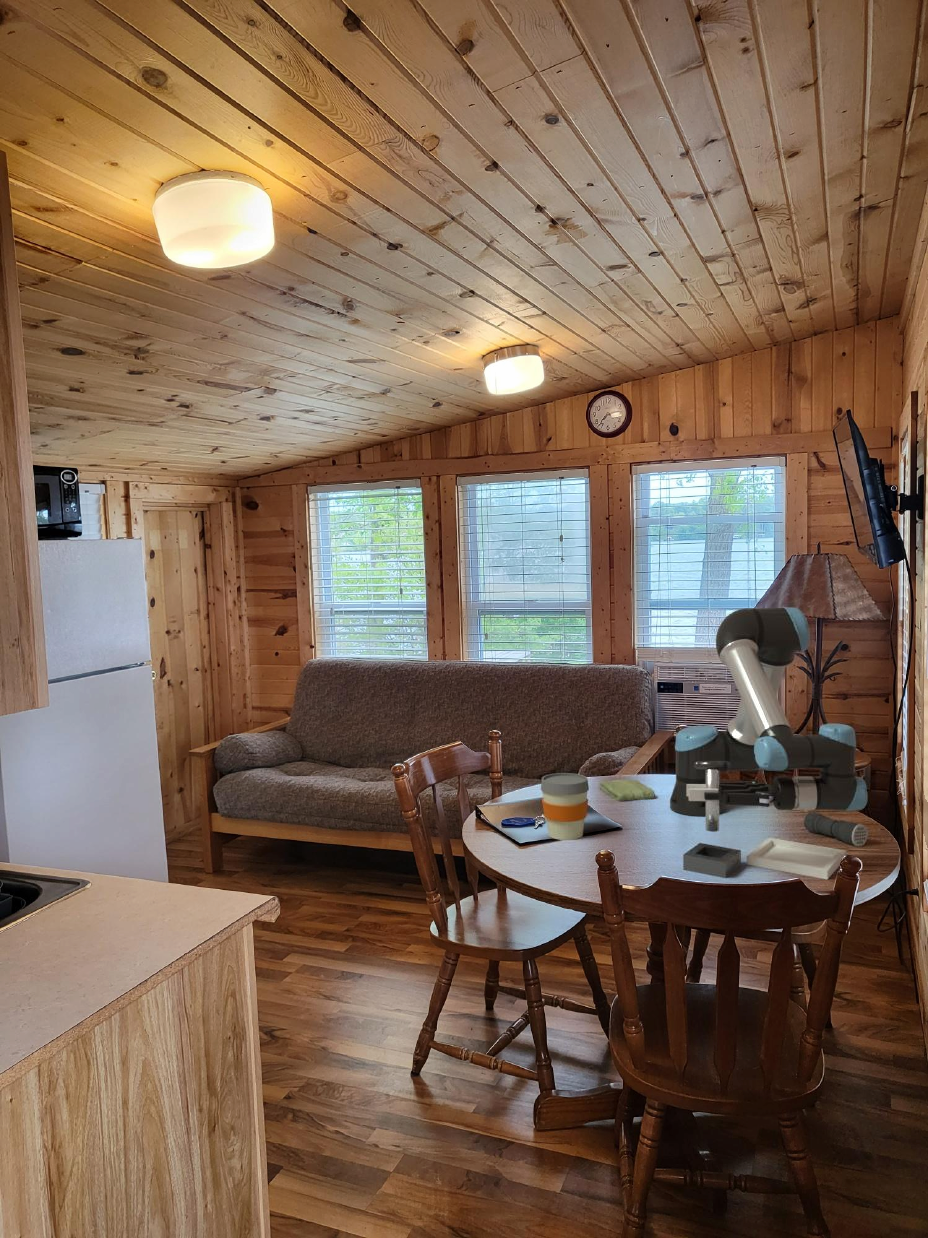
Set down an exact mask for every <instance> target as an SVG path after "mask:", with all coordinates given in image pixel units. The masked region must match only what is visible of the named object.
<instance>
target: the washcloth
mask: <svg viewBox="0 0 928 1238" xmlns="http://www.w3.org/2000/svg"><path fill="white" fill-rule="evenodd" d="M599 785H600V786H599V790H601V791H602V792H604V793H605V794H606V795H608V796H610V797H611V798H613V799H614V800H616V801H617V802H625V801H634V800H637V801H638V800H653V799H654V798H655V797H656V794H655V791H654V790H653V789H652V787H648V786H647V785H646V784H643V783H641V782H640V781H639V780H635V779H634V780H633V779H631V780H630V779H626V780H625V779H623V780H621V779H620V780H619V779H618V780H617V779H615V780H612V781H606V780H602V781H601V782H600V783H599Z"/></svg>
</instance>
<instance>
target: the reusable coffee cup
mask: <svg viewBox="0 0 928 1238" xmlns="http://www.w3.org/2000/svg"><path fill="white" fill-rule="evenodd" d="M540 781H541V783H540V784H541V785H540V791H541V792H542V799H541V801H542V803H541V804H542V809H543V810H542V811H543V815H544V816H543V817H544V818H545V820H546V825H547V834H548V836H549V837H550V838H552V839H554V840H555V839H556V840H561V841H573V840H577V839H580V838H582V837H583V836H584V829H585V828H584V826H585V819H586V818H587V815H588V813H587V812H588V807H589V805H588V803H589V799H588V791H589V780H588V776H586V775H583V774H579V773H574V772H573V773H571V772H570V773H569V772H559V773H557V772H555V773H550V774H546V775H544V776H542V777H541V780H540Z"/></svg>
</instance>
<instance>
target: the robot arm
mask: <svg viewBox="0 0 928 1238" xmlns="http://www.w3.org/2000/svg"><path fill="white" fill-rule="evenodd" d="M808 622H809V621H808V620H807V618H806V615H805V614H804V612H803V611H801V610H800V609H799V608H797V607H790V606H789V607H787V606H786V607H785V606H781V607H768V608H765V607H763V608H761V607H759V608H741V609H737V610H734V611H733V612H731V613H730V614H728V615H727V616H726V617H724V619H723V620H722V621H721V623H720V625H719V627H718V628H717V632H716V636H715V646H716V647H715V649H716V653H717V656H718V658H719V660H720V662H721V663H722V664H723V665H724V666H726V667H728V670H729V673H730V675H731V677H732V680H733V682H734V684H735V687H736V688H737V689H736V690H737V691H738V694H739V696H740V701H739V703H738V704H739V705H738V708H737V711H736V712H737V713H736V715H735V717H733V718H732V719H730V720H729V722H728V724H727V725H726V726H727V727H726V729H725V730H718V728H717V727H716V726H714V725H707V724H706V725H693V726H692V725H691V726H689V727H688V726H687V727H685V728H682V729H680V730H679V731H677V733H676V736H675V745H674V749H675V784H674V786H673V790H672V793H671V795H670V799H669V808H670V810H671V811H673V812H675V813H677V814H682V815H687V816H694V817H695V816H696V817H706V801H718V800H719V815H720V814H723V812H725V808H726V807H725V806H726V805H729V806H730V805H731V806H732V805H733V806H755V807H756V806H757V807H765V808H768V807H770V804H771V803H773V805H774V807H775V809H776V810H778V811H793V810H796V811H804V813H808V812H809V811H835V812H836V811H838V812H839V811H842V812H848V811H861V810H863V809H864V808H865V807H866V805H867V803H868V791H867V790H868V788H867V784H866V781H865V779H863V778H862V777H860V776H857V774H856V756H857V755H856V752H857V750H856V749H857V738H856V737H857V736H856V731H855V729H854V727H852V726H850V725H847V724H843V723H826V724H825V723H824V724H821V725H820V727H819V731H818V734H803V735H796V734H795V732H794V731H793V729H792V727H791V725H790V723H789V720H788V718H787V717H786V714H785V712H784V710H783V708H782V705H781V703H780V702H779V700H778V697H777V694H778V691H779V689H780V684H781V681H782V679H783V675H784V672H785V669H786V667H787V666H790V665H791V664H792V663H793V662H794V660H795V657H796V653H802V652H804V651H807V650H808V648H809V647H810V641H811V632H810V627H809V623H808ZM696 761H728V762H729V763H730V764H731V767H730V768H729V769H719V773H724V772H745V771H746V772H752V771H753V772H754V771H757V770H764V771H777V772H783V771H788V770H789V771H790V770H791V771H792V770H806V769H810V770H811V769H813V770H814V769H819V770H818V771H819V773H818V774H819V776H796V775H795V776H794V777H791V776H775V777H774V778H773V780H772V783H771V784H768V783H767V784H766V783H765V782H762V781H761V782H759V780H756V779H753V780H745V781H744V780H743V781H742V780H737V781H736V780H735V781H734V780H733V781H728V780H726V781H720V780H719V792H718V789H706V769H696V768H695V767H694V763H695V762H696Z"/></svg>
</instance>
